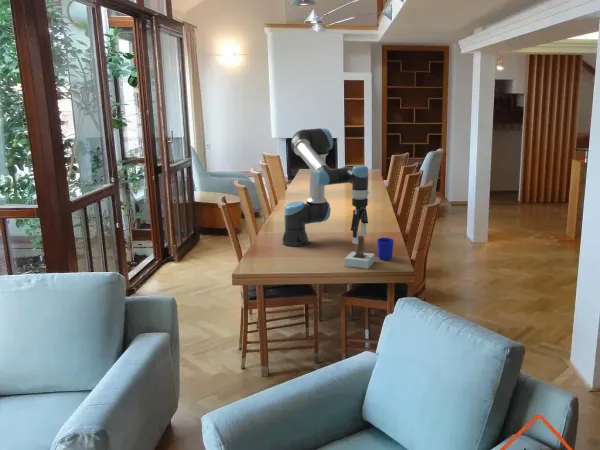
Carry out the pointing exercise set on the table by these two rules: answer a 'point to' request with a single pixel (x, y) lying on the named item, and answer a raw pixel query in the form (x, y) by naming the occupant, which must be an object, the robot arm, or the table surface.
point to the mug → (385, 248)
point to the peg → (360, 247)
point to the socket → (360, 260)
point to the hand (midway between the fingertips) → (359, 239)
